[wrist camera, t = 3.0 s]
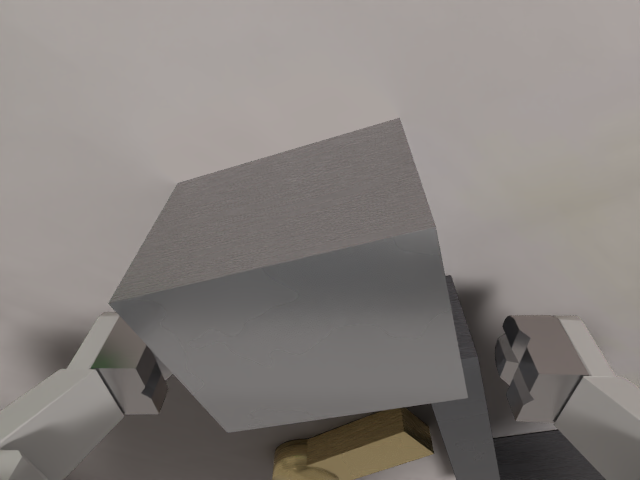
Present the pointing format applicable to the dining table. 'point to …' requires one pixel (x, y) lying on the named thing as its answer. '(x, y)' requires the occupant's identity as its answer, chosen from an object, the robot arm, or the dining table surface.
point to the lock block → (300, 286)
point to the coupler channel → (476, 437)
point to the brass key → (355, 448)
